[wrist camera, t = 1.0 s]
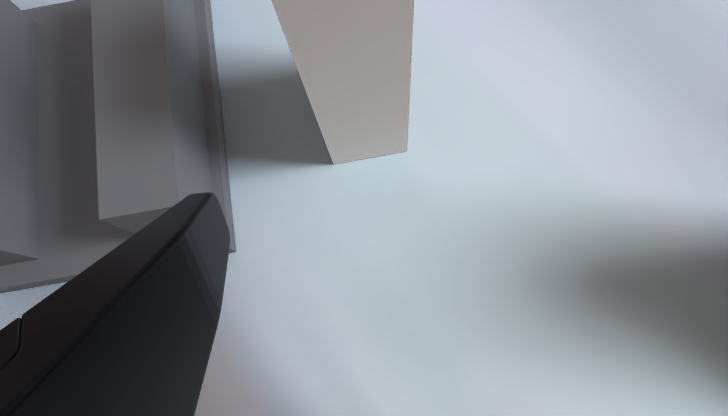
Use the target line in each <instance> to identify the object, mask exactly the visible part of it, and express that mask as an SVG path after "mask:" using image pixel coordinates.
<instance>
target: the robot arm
mask: <svg viewBox="0 0 728 416" xmlns="http://www.w3.org/2000/svg"><path fill="white" fill-rule="evenodd" d="M229 247H230V231H229V227H228V225H227V222H226V219H225V217H224V214H223V211H222V209H221V206H220V203H219V201H218V198H217V197H216V195H215V194H213V193H212V192H204V193H195V194H190V195H188V196H187V197H185V198H184V199H182V200H181V201H180V202H178V203H177V204H176V205H174V206H173V207H171V208H170V209H169V210H167V211H166V212H164V213H163V214H162V215H160V216H159V217H157V218H156V219H155V220H153V221H152V222H150V223H149V224H148V225H146V226H145V227H144V228H142V229H141V230H139V231H138V232H137V233H135V234H134V235H132V236H131V237H130V238H128V239H127V240H125V241H124V242H123V243H121V244H120V245H119V246H117V247H116V248H114V249H113V250H112V251H110V252H109V253H107V254H106V255H105V256H103V257H102V258H100V259H99V260H98V261H96V262H95V263H93V264H92V265H91V266H89V267H88V268H87V269H85V270H84V271H82V272H81V273H80V274H78V275H77V276H75V277H74V278H73V279H71V280H70V281H68V282H67V283H66V284H64V285H63V286H62V287H60V288H59V289H57V290H56V291H55V292H53V293H52V294H50V295H49V296H48V297H46V298H45V299H43V300H42V301H41V302H39V303H38V304H36V305H35V306H34V307H32V308H31V309H30V310H28V311H27V312H25V313H24V314H23V315H22V319H21V318H17V319H15V320H14V321H13V322H11V323H10V324H8V325H7V326H6V327H4V328H3V329H2V330H0V416H194V414H195V410H196V407H197V403H198V399H199V395H200V391H201V387H202V384H203V380H204V376H205V372H206V368H207V364H208V361H209V357H210V353H211V349H212V345H213V341H214V338H215V334H216V330H217V326H218V322H219V317H220V312H221V306H222V300H223V292H224V285H225V277H226V270H227V262H228V255H229Z"/></svg>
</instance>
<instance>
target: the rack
mask: <svg viewBox="0 0 728 416" xmlns="http://www.w3.org/2000/svg"><path fill="white" fill-rule="evenodd" d="M204 192H212V193H213V194H215V195H216V197H217V198H218V201H219V203H220V206H221V209H222V211H223V214H224V217H225V219H226V222H227V225H228V227H229V231H230V247H229V253H231V252H236V246H235V236H234V226H233V217H232V207H231V198H230V188H229V179H228V169H227V159H226V150H225V140H224V131H223V121H222V112H221V102H220V92H219V83H218V73H217V64H216V54H215V45H214V35H213V26H212V16H211V6H210V0H75V1H70V2H64V3H59V4H54V5H49V6H43V7H38V8H33V9H27V10H22V11H21V10H20V9H19V8H18V7H17V6H16V5H14V4H13V3H12V2H11V1H10V0H0V293H3V292H9V291H14V290H20V289H26V288H32V287H37V286H43V285H49V284H54V283H60V282H66V281H70V280H71V279H73V278H74V277H75V276H77V275H78V274H80V273H81V272H82V271H84V270H85V269H87V268H88V267H89V266H91V265H92V264H93V263H95V262H96V261H98V260H99V259H100V258H102V257H103V256H105V255H106V254H107V253H109V252H110V251H112V250H113V249H114V248H116V247H117V246H119V245H120V244H121V243H123V242H124V241H125V240H127V239H128V238H130V237H131V236H132V235H134V234H135V233H137V232H138V231H139V230H141V229H142V228H144V227H145V226H146V225H148V224H149V223H150V222H152V221H153V220H155V219H156V218H157V217H159V216H160V215H162V214H163V213H164V212H166V211H167V210H169V209H170V208H171V207H173V206H174V205H176V204H177V203H178V202H180V201H181V200H182V199H184V198H185V197H187V196H188V195H190V194H195V193H204Z"/></svg>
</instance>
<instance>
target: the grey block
mask: <svg viewBox="0 0 728 416" xmlns="http://www.w3.org/2000/svg"><path fill="white" fill-rule="evenodd" d="M271 1H272V3H273V6H274V8H275V11H276V14H277V16H278V19H279V22H280V24H281V27H282V30H283V32H284V35H285V37H286V40H287V43H288V45H289V48H290V51H291V53H292V56H293V59H294V61H295V64H296V67H297V69H298V72H299V74H300V77H301V80H302V82H303V85H304V88H305V90H306V93H307V96H308V98H309V101H310V104H311V106H312V109H313V111H314V114H315V117H316V119H317V122H318V125H319V127H320V130H321V133H322V135H323V138H324V140H325V143H326V146H327V148H328V151H329V154H330V156H331V159H332V162H333V164H338V163H344V162H350V161H355V160H361V159H366V158H372V157H378V156H383V155H389V154H394V153H400V152H406V151H407V145H408V123H409V100H410V78H411V56H412V33H413V11H414V0H271Z"/></svg>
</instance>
